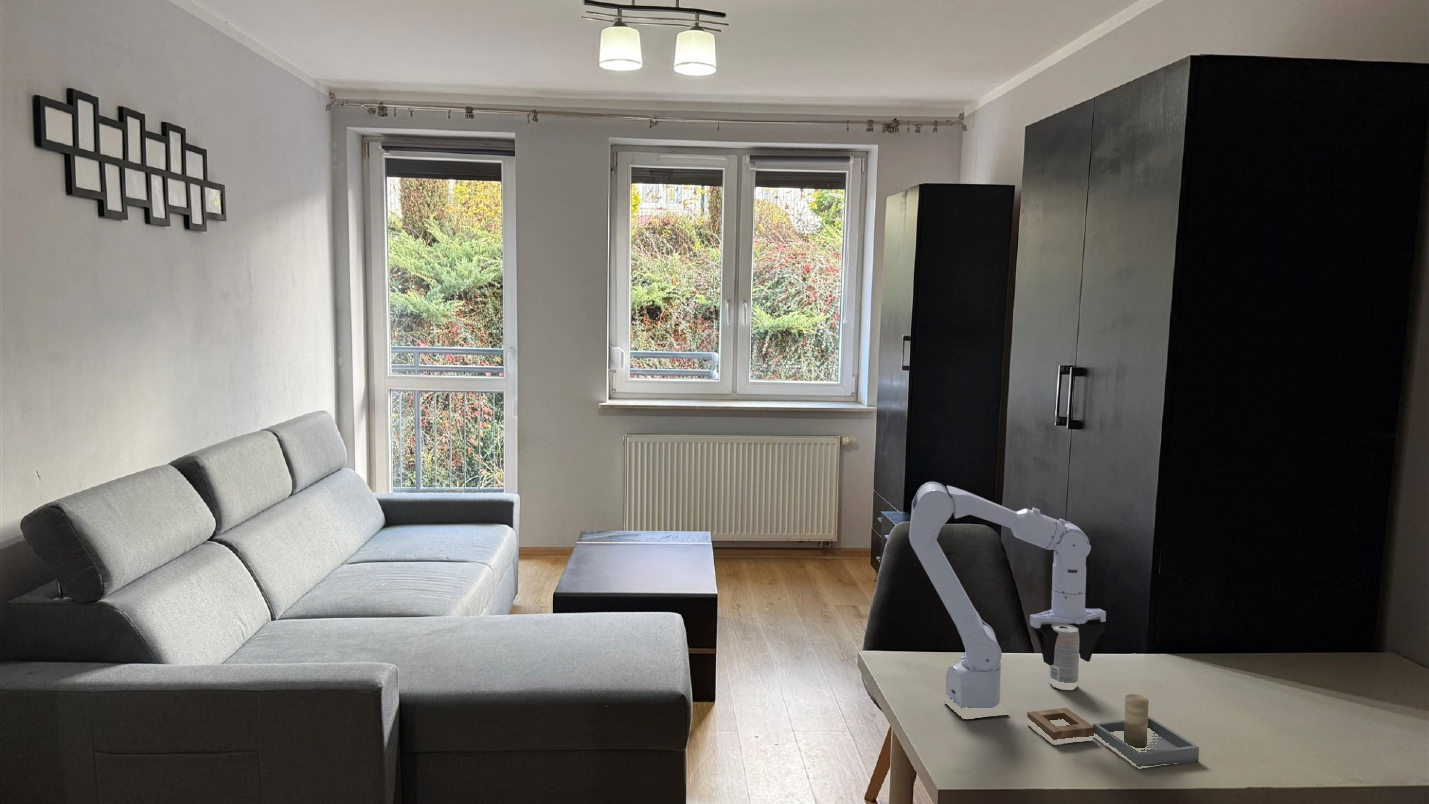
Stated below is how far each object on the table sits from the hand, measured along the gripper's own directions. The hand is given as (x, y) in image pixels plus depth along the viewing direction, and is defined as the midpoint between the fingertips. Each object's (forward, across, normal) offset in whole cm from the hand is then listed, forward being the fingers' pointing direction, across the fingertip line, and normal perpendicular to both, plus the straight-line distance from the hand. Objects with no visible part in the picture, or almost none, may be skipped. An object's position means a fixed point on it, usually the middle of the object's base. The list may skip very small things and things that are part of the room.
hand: (1066, 661), depth 162 cm
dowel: (+10, +4, -13) cm, 17 cm away
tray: (+10, +5, -14) cm, 19 cm away
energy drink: (+11, +8, +12) cm, 18 cm away
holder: (+10, -5, -6) cm, 13 cm away
